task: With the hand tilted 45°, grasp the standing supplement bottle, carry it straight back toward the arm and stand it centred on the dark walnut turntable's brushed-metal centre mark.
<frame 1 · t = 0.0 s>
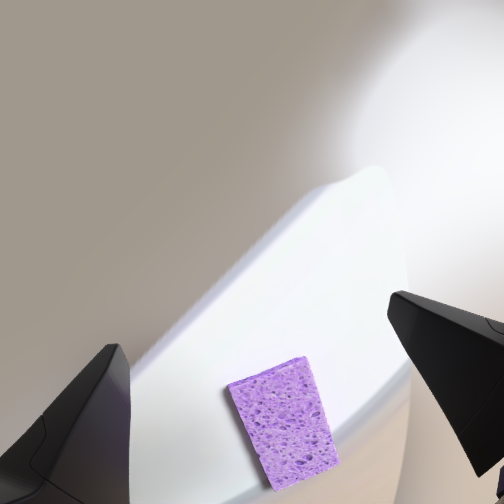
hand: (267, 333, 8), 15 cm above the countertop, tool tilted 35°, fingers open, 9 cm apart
purple sponge: (285, 424, 22), on the countertop
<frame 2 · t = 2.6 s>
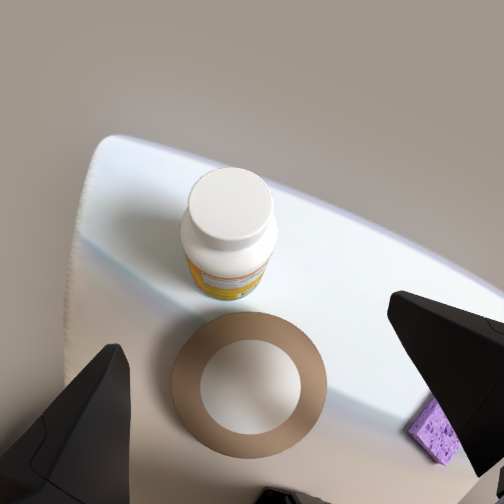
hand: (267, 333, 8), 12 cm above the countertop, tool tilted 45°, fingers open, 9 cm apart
purple sponge: (455, 398, 20), on the countertop
turntable platter: (250, 387, 18), point 1 cm above the countertop, hinge at 0.0°
supplement bottle: (227, 268, 22), on the countertop
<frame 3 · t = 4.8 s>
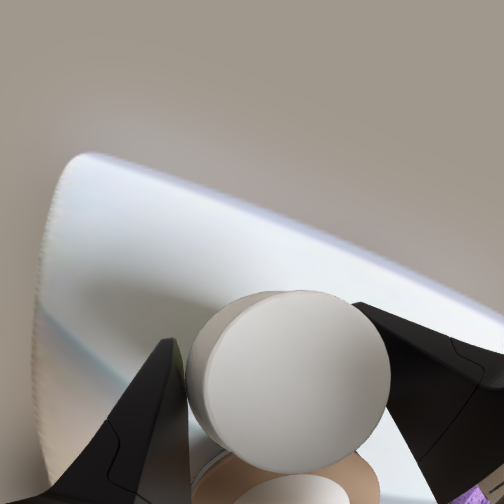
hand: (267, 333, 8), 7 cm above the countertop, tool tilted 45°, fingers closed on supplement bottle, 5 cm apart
purple sponge: (493, 464, 12), on the countertop
supplement bottle: (253, 370, 14), on the countertop, touching gripper
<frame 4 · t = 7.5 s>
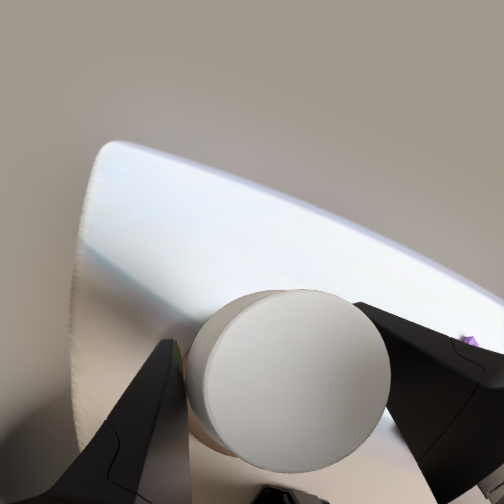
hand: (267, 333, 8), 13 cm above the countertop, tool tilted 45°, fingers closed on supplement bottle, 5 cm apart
turntable platter: (250, 391, 18), point 1 cm above the countertop, hinge at 0.0°
supplement bottle: (253, 369, 14), point 6 cm above the countertop, touching gripper
when the fingers open (9 cm above the countertop, at t = 10.0 s): supplement bottle stays where it is, resting on turntable platter.
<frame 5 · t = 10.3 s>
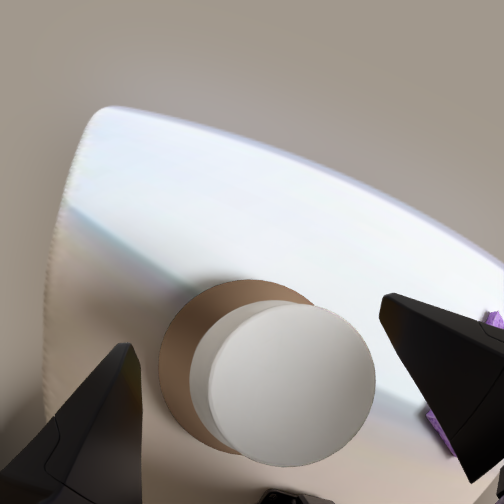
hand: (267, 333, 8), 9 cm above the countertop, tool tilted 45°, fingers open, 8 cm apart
purple sponge: (473, 383, 17), on the countertop
turntable platter: (251, 369, 15), point 1 cm above the countertop, hinge at 0.0°, touching supplement bottle
supplement bottle: (252, 372, 15), point 2 cm above the countertop, touching turntable platter
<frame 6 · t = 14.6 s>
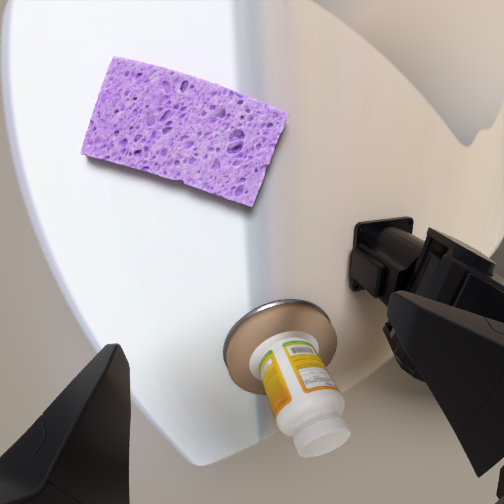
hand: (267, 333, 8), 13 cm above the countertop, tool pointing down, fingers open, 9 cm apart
purple sponge: (181, 128, 18), on the countertop
turntable platter: (282, 353, 25), point 1 cm above the countertop, hinge at 0.0°, touching supplement bottle
turntable base: (279, 346, 26), on the countertop
supplement bottle: (285, 356, 25), point 2 cm above the countertop, touching turntable platter
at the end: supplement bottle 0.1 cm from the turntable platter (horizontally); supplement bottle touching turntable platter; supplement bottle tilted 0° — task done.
